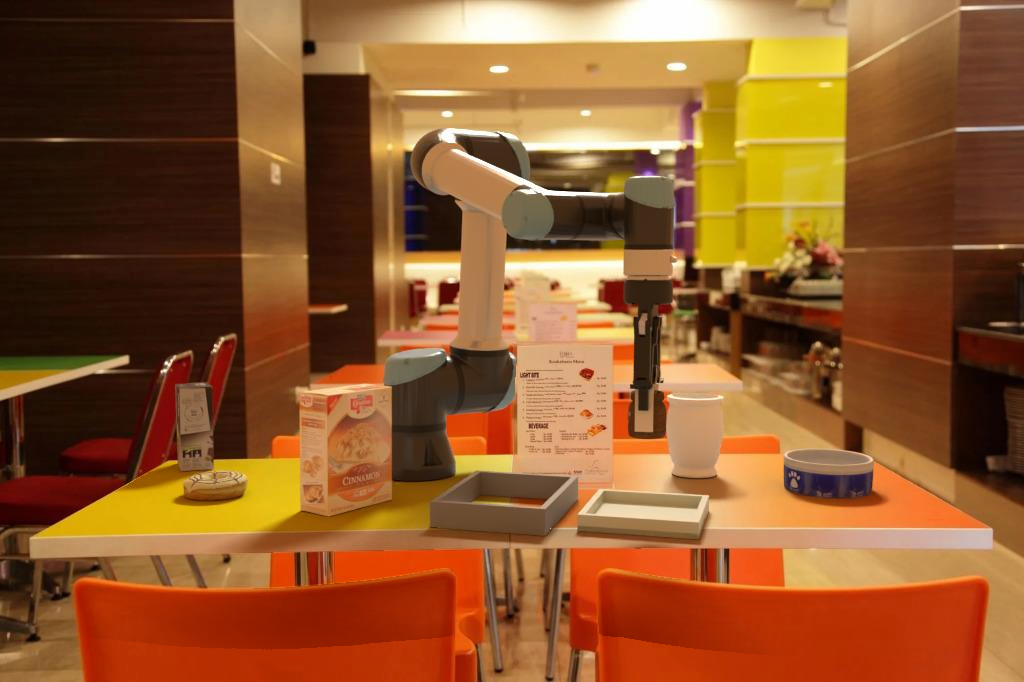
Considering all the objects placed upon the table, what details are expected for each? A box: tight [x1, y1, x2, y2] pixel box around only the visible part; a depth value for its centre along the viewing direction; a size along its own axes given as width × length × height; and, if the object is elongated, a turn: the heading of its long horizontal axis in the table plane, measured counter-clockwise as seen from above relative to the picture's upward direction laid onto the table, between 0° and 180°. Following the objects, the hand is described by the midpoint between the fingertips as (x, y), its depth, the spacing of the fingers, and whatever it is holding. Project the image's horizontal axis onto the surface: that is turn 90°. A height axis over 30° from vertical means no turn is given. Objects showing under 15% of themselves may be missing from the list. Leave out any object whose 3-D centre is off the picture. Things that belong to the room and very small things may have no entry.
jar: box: [666, 392, 725, 479], centre depth 198 cm, size 11×10×15 cm
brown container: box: [627, 365, 667, 440], centre depth 162 cm, size 6×6×12 cm
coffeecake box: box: [298, 383, 393, 517], centre depth 173 cm, size 15×7×20 cm, turn 143°
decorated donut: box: [182, 470, 249, 502], centre depth 181 cm, size 10×11×4 cm
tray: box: [576, 488, 710, 540], centre depth 164 cm, size 18×18×2 cm
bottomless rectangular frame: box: [429, 470, 579, 537], centre depth 169 cm, size 18×24×4 cm
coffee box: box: [174, 381, 215, 472], centre depth 205 cm, size 9×6×16 cm
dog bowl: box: [783, 448, 875, 499], centre depth 186 cm, size 15×15×6 cm
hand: (646, 427), depth 163 cm, fingers closed on brown container, 6 cm apart
